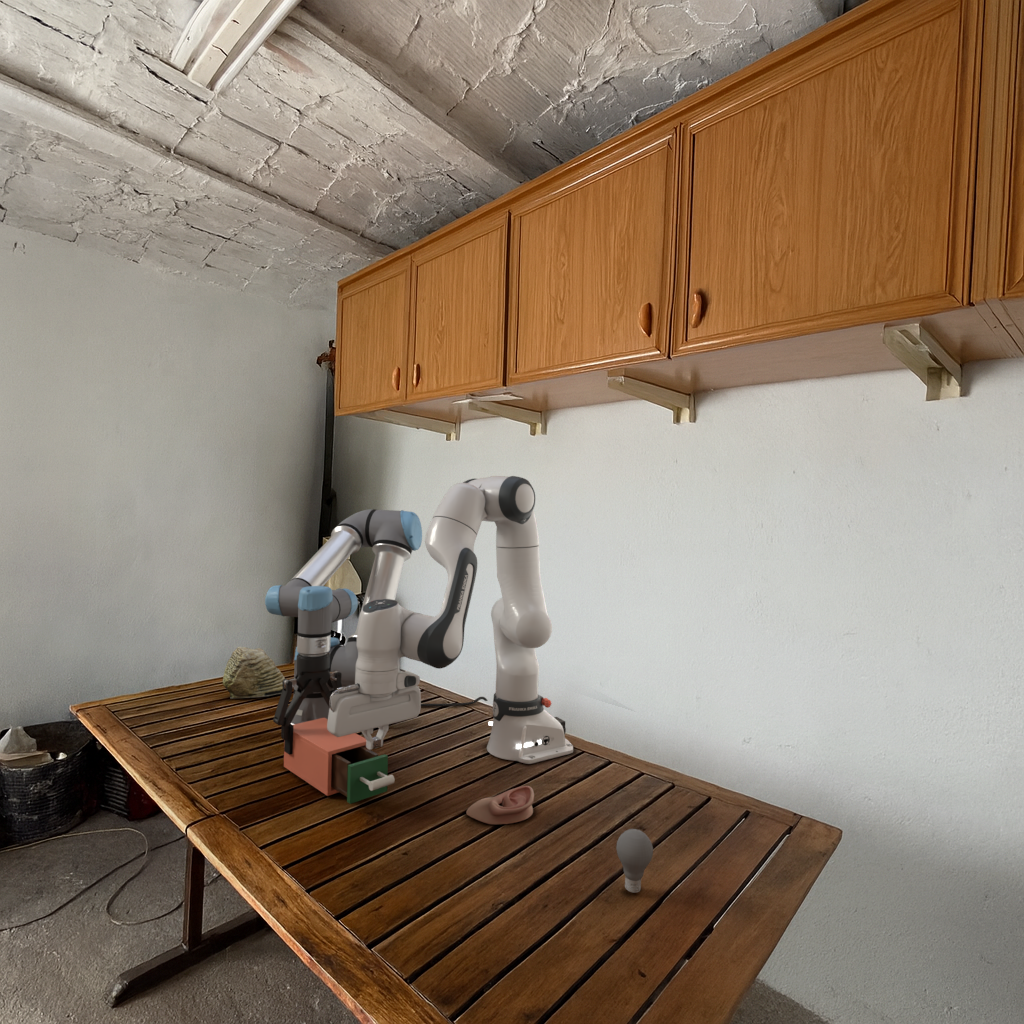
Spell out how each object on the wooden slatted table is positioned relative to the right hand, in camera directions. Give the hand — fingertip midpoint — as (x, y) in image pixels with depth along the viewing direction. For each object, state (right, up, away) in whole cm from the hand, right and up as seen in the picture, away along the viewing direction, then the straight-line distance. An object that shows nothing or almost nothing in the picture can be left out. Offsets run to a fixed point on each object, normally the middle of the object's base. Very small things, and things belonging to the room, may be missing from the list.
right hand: (374, 747), depth 129 cm
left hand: (-19, -7, +20) cm, 28 cm away
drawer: (-6, -11, +6) cm, 14 cm away
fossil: (-52, -9, +69) cm, 87 cm away
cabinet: (-14, -12, +14) cm, 23 cm away
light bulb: (+48, -15, -24) cm, 56 cm away
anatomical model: (+26, -14, +1) cm, 29 cm away
